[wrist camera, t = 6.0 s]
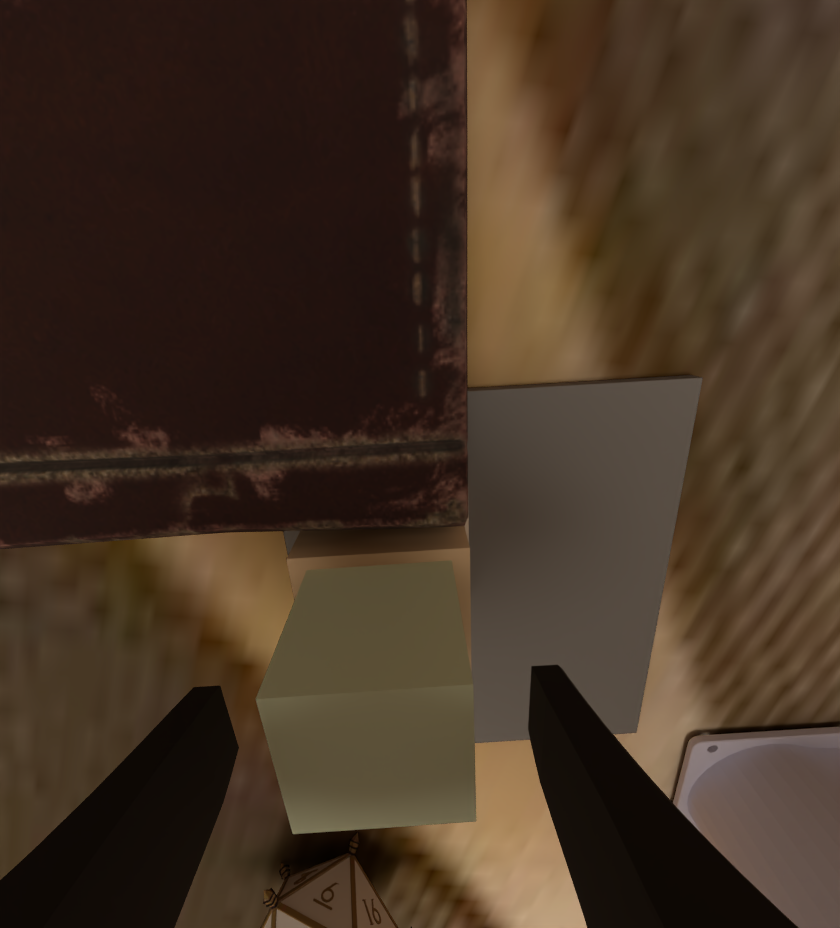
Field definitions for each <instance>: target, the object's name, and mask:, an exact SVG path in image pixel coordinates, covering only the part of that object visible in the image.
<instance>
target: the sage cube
mask: <svg viewBox="0 0 840 928" xmlns="http://www.w3.org/2000/svg"><path fill="white" fill-rule="evenodd" d="M256 702H257V706H258V709H259V713H260V717H261V720H262V724H263V728H264V731H265V735H266V739H267V742H268V746H269V749H270V753H271V757H272V760H273V764H274V768H275V771H276V775H277V779H278V782H279V786H280V790H281V793H282V797H283V800H284V804H285V808H286V811H287V815H288V819H289V822H290V826H291V830H292V833H293V834H303V833H317V832H332V831H346V830H360V829H375V828H389V827H403V826H418V825H432V824H447V823H461V822H475V821H476V788H475V739H474V691H473V679H472V674H471V668H470V662H469V656H468V651H467V645H466V639H465V633H464V628H463V622H462V616H461V611H460V605H459V599H458V593H457V588H456V582H455V576H454V570H453V565H452V560H449V561H434V562H420V563H405V564H390V565H375V566H360V567H345V568H330V569H316V570H307V571H306V573H305V576H304V578H303V581H302V583H301V586H300V588H299V591H298V593H297V596H296V598H295V601H294V604H293V606H292V609H291V611H290V614H289V616H288V619H287V621H286V624H285V626H284V629H283V631H282V634H281V636H280V639H279V641H278V644H277V647H276V649H275V652H274V654H273V657H272V659H271V662H270V664H269V667H268V669H267V672H266V674H265V677H264V679H263V682H262V685H261V687H260V690H259V692H258V695H257V697H256Z"/></svg>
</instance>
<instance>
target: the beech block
mask: <svg viewBox="0 0 840 928" xmlns="http://www.w3.org/2000/svg"><path fill="white" fill-rule="evenodd" d="M286 560H287V565H288V570H289V575H290V580H291V585H292V590H293V595H294V601H295V598H296V596H297V593H298V591H299V588H300V586H301V583H302V581H303V578H304V576H305V573H306V571H307V570H316V569H330V568H345V567H360V566H375V565H390V564H405V563H420V562H434V561H449V560H452V565H453V570H454V576H455V582H456V588H457V593H458V599H459V605H460V611H461V616H462V622H463V628H464V633H465V639H466V645H467V651H468V656H469V662H470V668H471V593H470V546H469V542H468V539H467V535H466V531H465V527H464V526H456V527H436V528H399V529H353V530H308V531H300V532H299V534H298V536H297V539H296V541H295V543H294V545H293V547H292V549H291V551H290V553H289V555H288V557H287V559H286Z"/></svg>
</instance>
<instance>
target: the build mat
mask: <svg viewBox="0 0 840 928" xmlns="http://www.w3.org/2000/svg"><path fill="white" fill-rule="evenodd" d="M702 379H703V378H702V377H697V376H693V375H685V376H668V377H651V378H634V379H617V380H600V381H583V382H565V383H548V384H531V385H514V386H497V387H480V388H467V395H468V442H467V451H468V519H467V521H466V524H465V526H464V527H465V531H466V535H467V539H468V542H469V546H470V593H471V674H472V679H473V691H474V739H475V743H484V742H499V741H515V740H530V736H529V731H528V720H529V702H530V683H531V666H543V665H559V666H560V667H561V668H562V669H563V670H564V672H565V673H566V674H567V676H568V677H569V679H570V680H571V681H572V683H573V684H574V685H575V687H576V688H577V689H578V691H579V692H580V693H581V695H582V696H583V697H584V699H585V700H586V701H587V702H588V704H589V705H590V706H591V708H592V709H593V710H594V711H595V713H596V714H597V715H598V716H599V718H600V719H601V720H602V722H603V723H604V724H605V725H606V726H607V728H608V729H609V730H610V731H611V733H612V734H625V733H636V732H637V727H638V722H639V716H640V711H641V706H642V700H643V695H644V689H645V684H646V679H647V673H648V668H649V663H650V657H651V652H652V647H653V641H654V636H655V631H656V625H657V620H658V614H659V609H660V604H661V598H662V593H663V588H664V582H665V577H666V572H667V566H668V561H669V555H670V550H671V545H672V539H673V534H674V529H675V523H676V518H677V513H678V507H679V502H680V496H681V491H682V486H683V480H684V475H685V470H686V464H687V459H688V454H689V448H690V443H691V438H692V432H693V427H694V421H695V416H696V411H697V405H698V400H699V395H700V389H701V384H702ZM299 532H300V531H283V533H284V538H285V543H286V548H287V553H288V555H289V553H290V551H291V549H292V547H293V545H294V543H295V541H296V539H297V536H298V534H299Z"/></svg>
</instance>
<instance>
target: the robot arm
mask: <svg viewBox="0 0 840 928" xmlns="http://www.w3.org/2000/svg"><path fill="white" fill-rule="evenodd" d="M528 731H529V736H530V740H531V745H532V749H533V754H534V758H535V762H536V767H537V771H538V775H539V779H540V783H541V786H542V789H543V792H544V796H545V799H546V802H547V805H548V808H549V811H550V814H551V817H552V820H553V823H554V826H555V829H556V832H557V835H558V839H559V842H560V845H561V848H562V851H563V854H564V857H565V860H566V863H567V866H568V869H569V872H570V875H571V878H572V881H573V884H574V887H575V890H576V893H577V896H578V899H579V902H580V906H581V909H582V912H583V915H584V918H585V921H586V925H587V928H840V726H839V727H823V728H808V729H792V730H776V731H761V732H745V733H729V734H714V735H699V736H695V737H692V738H691V739H690V740H689V742H688V745H687V749H686V753H685V757H684V761H683V765H682V769H681V773H680V777H679V781H678V785H677V789H676V793H675V797H674V801H673V803H672V802H671V800H670V799H669V798H668V797H667V796H666V795H665V794H664V793H663V792H662V791H661V790H660V788H659V787H658V786H657V785H656V784H655V783H654V782H653V781H652V779H651V778H650V777H649V776H648V775H647V774H646V773H645V772H644V770H643V769H642V768H641V767H640V766H639V765H638V763H637V762H636V761H635V760H634V759H633V758H632V756H631V755H630V754H629V753H628V752H627V750H626V749H625V748H624V747H623V746H622V745H621V743H620V742H619V741H618V740H617V739H616V737H615V736H614V735H613V734H612V733H611V731H610V730H609V729H608V728H607V726H606V725H605V724H604V723H603V722H602V720H601V719H600V718H599V716H598V715H597V714H596V713H595V711H594V710H593V709H592V708H591V706H590V705H589V704H588V702H587V701H586V700H585V699H584V697H583V696H582V695H581V693H580V692H579V691H578V689H577V688H576V687H575V685H574V684H573V683H572V681H571V680H570V679H569V677H568V676H567V674H566V673H565V672H564V670H563V669H562V668H561V667H560V666H559V665H543V666H531V683H530V702H529V720H528ZM238 748H239V747H238V744H237V740H236V737H235V734H234V730H233V727H232V724H231V720H230V717H229V714H228V710H227V707H226V704H225V700H224V697H223V694H222V690H221V687H220V686H207V687H194V688H193V689H192V690H191V691H190V692H189V693H188V694H187V695H186V696H185V697H184V698H183V699H182V700H181V701H180V702H179V703H178V704H177V705H176V706H175V707H174V708H173V709H172V710H171V711H170V712H169V713H168V715H167V716H166V717H165V718H164V719H163V720H162V721H161V722H160V723H159V724H158V725H157V726H156V727H155V728H154V729H153V730H152V731H151V732H150V733H149V735H148V736H147V737H146V738H145V739H144V740H143V741H142V742H141V743H140V744H139V745H138V746H137V747H136V748H135V749H134V750H133V751H132V752H131V753H130V754H129V755H128V756H127V758H126V759H125V760H124V761H123V762H122V763H121V764H120V765H119V766H118V767H117V768H116V769H115V770H114V771H113V772H112V773H111V774H110V775H109V776H108V777H107V778H106V779H105V780H104V781H103V782H102V783H101V784H100V785H99V786H98V787H97V788H96V789H95V790H94V791H93V792H92V793H91V794H90V795H89V796H88V797H87V798H86V799H85V800H84V801H83V802H82V803H81V804H80V805H79V806H78V807H77V808H76V809H75V810H74V811H73V812H72V813H71V814H70V815H69V816H68V817H67V818H66V819H65V820H64V821H63V822H62V823H61V824H60V825H59V826H57V827H56V828H55V829H54V830H53V831H52V832H51V833H50V834H49V835H48V836H47V837H46V838H45V839H44V840H43V841H42V842H41V843H40V844H39V845H38V846H37V847H36V848H35V849H34V850H33V851H32V852H31V853H29V854H28V855H27V856H26V857H25V858H24V859H23V860H22V861H21V862H20V863H19V864H18V865H17V866H15V867H14V868H13V869H12V870H11V871H10V872H9V873H8V874H7V875H6V876H4V877H3V878H2V879H1V880H0V928H174V927H175V925H176V922H177V919H178V917H179V914H180V912H181V909H182V907H183V904H184V902H185V899H186V897H187V894H188V892H189V889H190V886H191V884H192V881H193V879H194V876H195V874H196V871H197V869H198V866H199V864H200V861H201V859H202V856H203V854H204V851H205V848H206V846H207V843H208V841H209V838H210V836H211V833H212V830H213V828H214V825H215V823H216V820H217V817H218V815H219V812H220V810H221V807H222V804H223V802H224V798H225V795H226V791H227V788H228V785H229V781H230V778H231V774H232V771H233V767H234V763H235V759H236V756H237V752H238Z"/></svg>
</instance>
